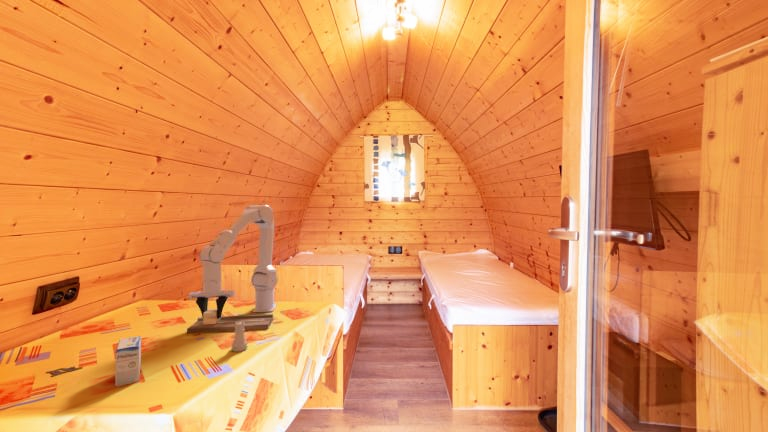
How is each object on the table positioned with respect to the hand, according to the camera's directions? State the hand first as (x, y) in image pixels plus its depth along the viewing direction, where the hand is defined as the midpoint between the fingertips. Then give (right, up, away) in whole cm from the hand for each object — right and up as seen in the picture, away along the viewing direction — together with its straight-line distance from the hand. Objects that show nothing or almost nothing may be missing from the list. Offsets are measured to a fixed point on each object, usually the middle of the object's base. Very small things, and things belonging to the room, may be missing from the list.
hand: (212, 317), depth 112 cm
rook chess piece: (+18, -3, -19) cm, 26 cm away
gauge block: (0, -1, 0) cm, 1 cm away
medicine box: (-1, -3, -35) cm, 35 cm away
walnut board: (+7, -3, +1) cm, 8 cm away
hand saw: (-15, -4, -25) cm, 30 cm away
